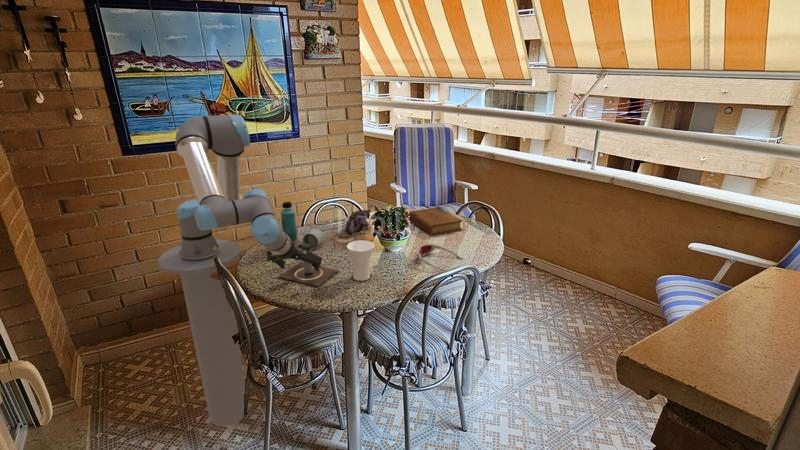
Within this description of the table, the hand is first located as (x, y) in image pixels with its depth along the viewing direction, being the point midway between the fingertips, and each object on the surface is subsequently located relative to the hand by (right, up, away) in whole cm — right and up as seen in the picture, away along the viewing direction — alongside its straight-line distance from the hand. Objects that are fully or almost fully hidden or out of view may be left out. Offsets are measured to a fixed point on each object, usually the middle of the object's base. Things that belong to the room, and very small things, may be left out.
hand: (300, 266), depth 153 cm
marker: (+1, -4, +9) cm, 9 cm away
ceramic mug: (-4, +6, +36) cm, 36 cm away
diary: (+55, +15, +61) cm, 84 cm away
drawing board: (+1, -4, +9) cm, 10 cm away
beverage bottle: (-14, +7, +39) cm, 42 cm away
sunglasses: (+53, 0, +21) cm, 57 cm away
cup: (+22, -5, +7) cm, 24 cm away
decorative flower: (+16, +13, +55) cm, 59 cm away
